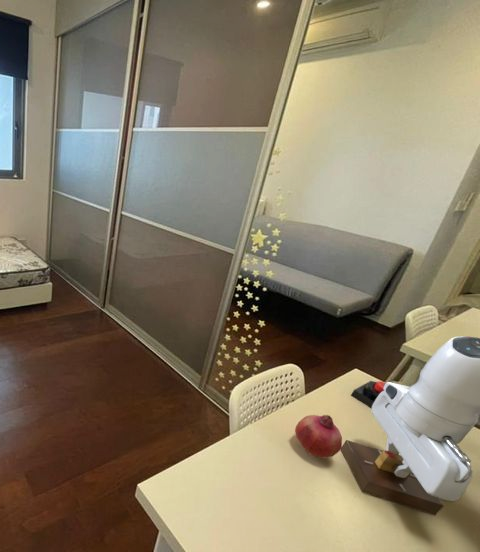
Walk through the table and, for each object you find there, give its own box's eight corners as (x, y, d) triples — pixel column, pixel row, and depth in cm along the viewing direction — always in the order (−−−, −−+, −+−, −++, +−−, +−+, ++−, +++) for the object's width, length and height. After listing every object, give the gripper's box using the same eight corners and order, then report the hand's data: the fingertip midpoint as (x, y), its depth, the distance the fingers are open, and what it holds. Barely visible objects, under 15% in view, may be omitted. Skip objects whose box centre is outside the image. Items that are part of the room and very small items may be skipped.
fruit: (340, 462, 68) (362, 429, 64) (313, 470, 66) (334, 436, 62) (307, 431, 75) (325, 399, 71) (281, 436, 73) (297, 404, 69)
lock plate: (403, 467, 69) (411, 458, 67) (435, 515, 60) (444, 505, 59) (340, 448, 71) (346, 439, 70) (361, 491, 63) (369, 481, 61)
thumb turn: (403, 470, 65) (413, 457, 63) (408, 477, 63) (418, 465, 62) (374, 461, 66) (383, 449, 64) (378, 468, 64) (388, 456, 63)
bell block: (367, 386, 93) (373, 375, 91) (401, 406, 87) (409, 395, 85) (350, 395, 88) (357, 384, 87) (385, 417, 82) (393, 406, 80)
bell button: (377, 384, 88) (380, 379, 87) (393, 393, 85) (396, 388, 85) (371, 388, 87) (374, 383, 86) (387, 397, 84) (390, 392, 83)
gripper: (502, 475, 49) (449, 527, 54) (416, 385, 67) (384, 432, 72) (452, 460, 50) (406, 513, 56) (381, 376, 68) (352, 423, 74)
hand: (393, 466), depth 64 cm, fingers closed on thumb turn, 2 cm apart
